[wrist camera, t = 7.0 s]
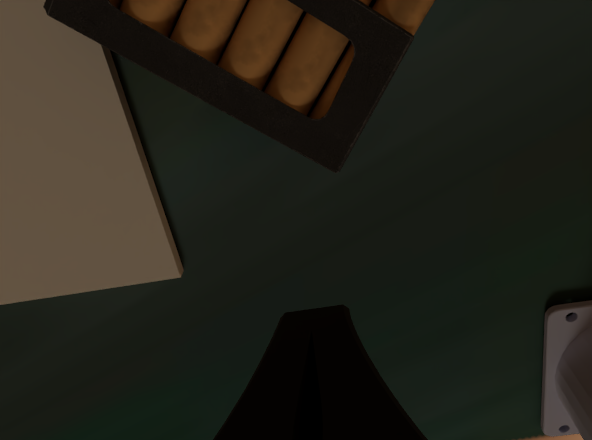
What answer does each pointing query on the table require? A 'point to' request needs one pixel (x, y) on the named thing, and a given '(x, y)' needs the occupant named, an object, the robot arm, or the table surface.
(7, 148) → the mat
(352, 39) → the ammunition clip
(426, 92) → the table surface
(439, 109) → the table surface
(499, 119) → the table surface
